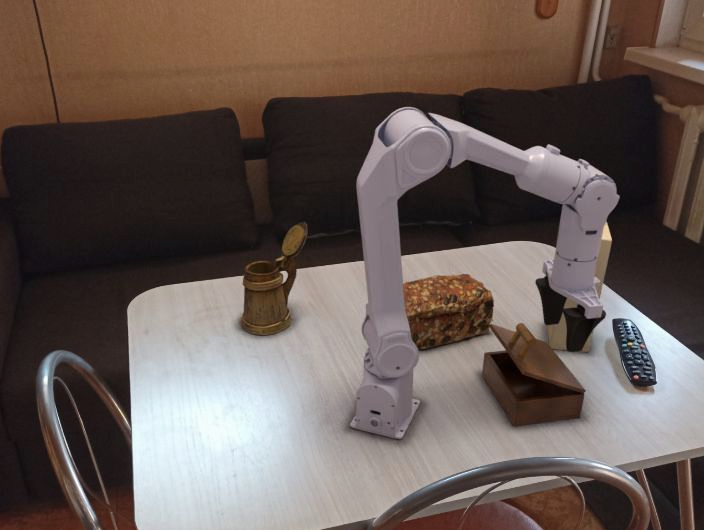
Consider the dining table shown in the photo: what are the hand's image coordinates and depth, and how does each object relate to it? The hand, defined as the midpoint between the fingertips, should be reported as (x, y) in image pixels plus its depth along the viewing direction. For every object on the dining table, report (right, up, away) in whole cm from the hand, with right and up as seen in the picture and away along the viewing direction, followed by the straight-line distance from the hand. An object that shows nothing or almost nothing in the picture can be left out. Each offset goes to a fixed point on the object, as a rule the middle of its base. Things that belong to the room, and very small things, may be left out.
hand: (562, 336), depth 104 cm
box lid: (-4, -3, +1) cm, 5 cm away
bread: (-17, 0, +21) cm, 27 cm away
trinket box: (-4, -9, +5) cm, 11 cm away
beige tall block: (+7, -1, +18) cm, 20 cm away
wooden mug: (-45, +2, +26) cm, 52 cm away
